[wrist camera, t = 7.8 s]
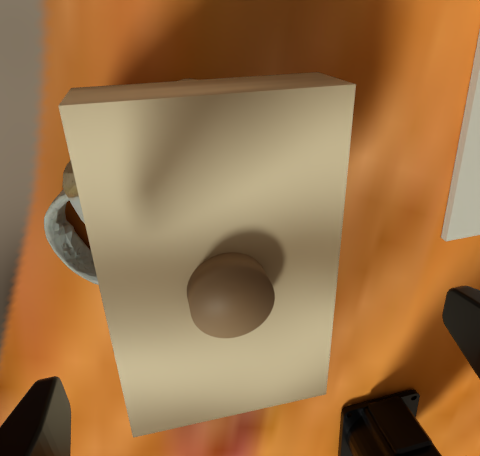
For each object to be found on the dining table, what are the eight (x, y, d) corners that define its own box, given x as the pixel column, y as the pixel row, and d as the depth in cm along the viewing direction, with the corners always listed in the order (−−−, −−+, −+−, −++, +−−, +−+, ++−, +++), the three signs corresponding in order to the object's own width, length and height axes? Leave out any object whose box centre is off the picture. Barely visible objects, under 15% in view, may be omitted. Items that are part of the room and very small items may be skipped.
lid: (302, 349, 18) (335, 411, 15) (132, 383, 16) (133, 459, 14) (317, 72, 12) (372, 89, 10) (71, 87, 11) (52, 113, 8)
